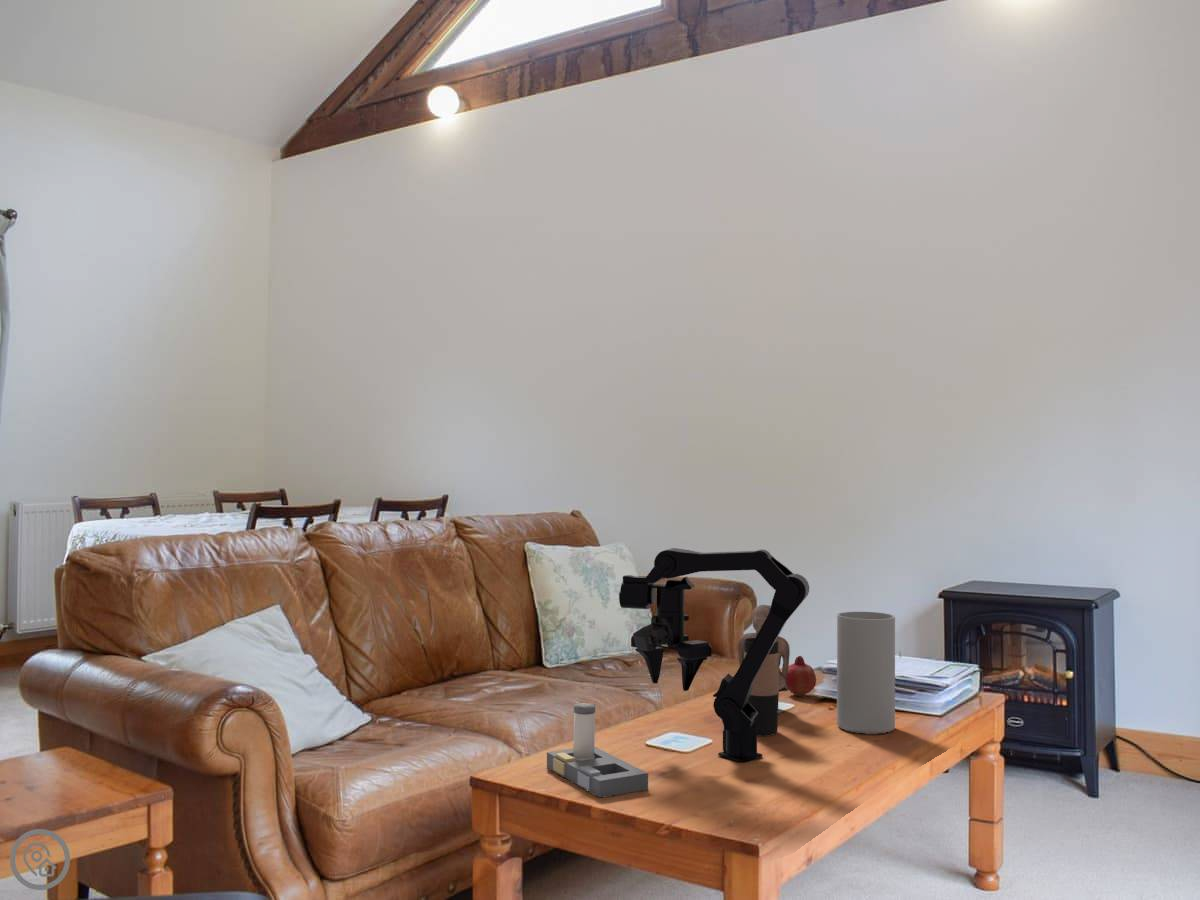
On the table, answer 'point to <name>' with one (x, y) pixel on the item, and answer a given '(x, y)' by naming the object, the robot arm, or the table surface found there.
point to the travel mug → (765, 691)
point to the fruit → (800, 677)
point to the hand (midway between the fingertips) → (670, 686)
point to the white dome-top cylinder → (584, 731)
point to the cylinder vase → (866, 672)
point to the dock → (598, 772)
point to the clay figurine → (783, 646)
